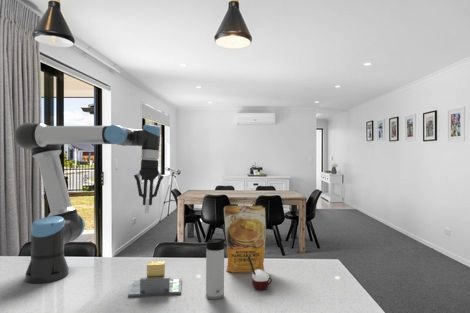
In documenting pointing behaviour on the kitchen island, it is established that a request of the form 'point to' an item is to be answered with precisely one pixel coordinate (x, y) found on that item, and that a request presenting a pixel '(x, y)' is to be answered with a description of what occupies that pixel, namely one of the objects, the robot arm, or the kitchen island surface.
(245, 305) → the kitchen island surface
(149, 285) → the gauge bed
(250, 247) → the pancake mix bag
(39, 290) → the kitchen island surface
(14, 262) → the kitchen island surface
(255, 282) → the cocoa
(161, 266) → the brushed brass block
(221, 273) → the travel mug
